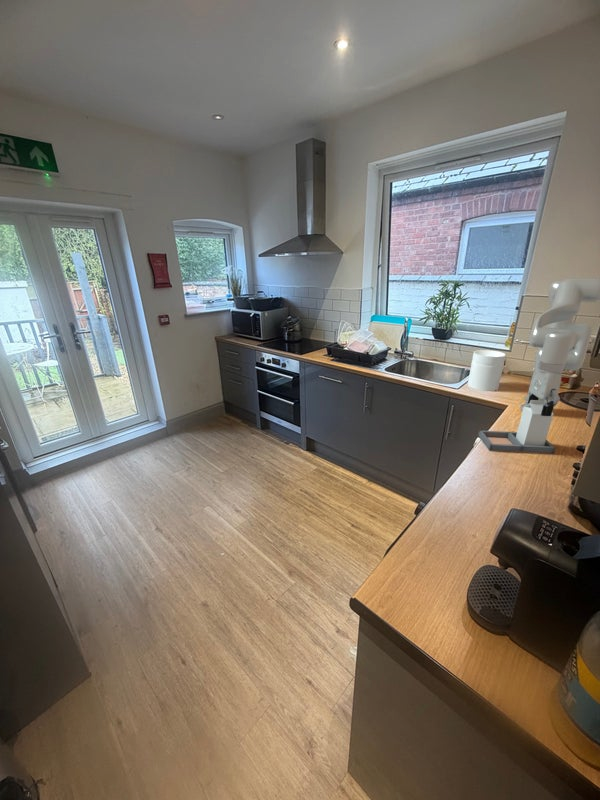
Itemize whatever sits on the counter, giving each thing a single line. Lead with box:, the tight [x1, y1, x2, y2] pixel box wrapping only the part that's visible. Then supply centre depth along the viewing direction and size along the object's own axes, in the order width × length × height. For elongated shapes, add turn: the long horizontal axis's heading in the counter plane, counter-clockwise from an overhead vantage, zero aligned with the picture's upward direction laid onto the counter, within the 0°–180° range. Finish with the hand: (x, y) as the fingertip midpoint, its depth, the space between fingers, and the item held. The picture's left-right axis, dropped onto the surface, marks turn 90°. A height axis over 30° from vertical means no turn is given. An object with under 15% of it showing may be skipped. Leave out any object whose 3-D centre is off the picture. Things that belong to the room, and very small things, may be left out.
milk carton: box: [516, 400, 554, 446], centre depth 126 cm, size 7×7×19 cm
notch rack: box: [477, 430, 557, 455], centre depth 130 cm, size 12×23×2 cm, turn 82°
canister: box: [467, 349, 507, 392], centre depth 188 cm, size 16×16×20 cm
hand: (538, 410), depth 123 cm, fingers open, 9 cm apart
